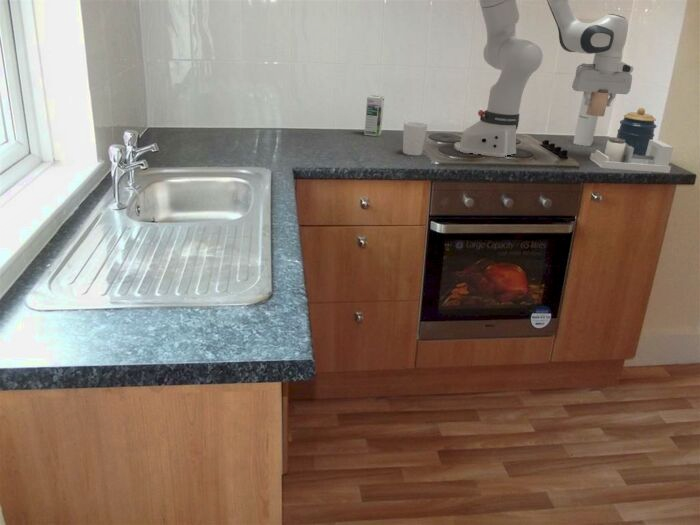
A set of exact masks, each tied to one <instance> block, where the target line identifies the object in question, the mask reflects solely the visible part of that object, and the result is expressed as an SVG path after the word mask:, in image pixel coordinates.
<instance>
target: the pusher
mask: <svg viewBox="0 0 700 525" xmlns="http://www.w3.org/2000/svg"><path fill="white" fill-rule="evenodd" d="M633 151H634V148H633V147H632V146H630V145H628V144H626V145H625V149H624V153H623V157H622V162H623V163H631V159H632V158H634V159H648V160H653V159H654V156H650V155H637V154H633Z"/></svg>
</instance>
